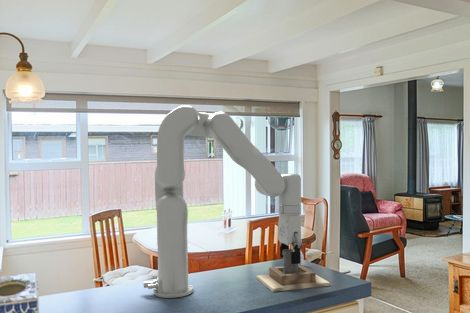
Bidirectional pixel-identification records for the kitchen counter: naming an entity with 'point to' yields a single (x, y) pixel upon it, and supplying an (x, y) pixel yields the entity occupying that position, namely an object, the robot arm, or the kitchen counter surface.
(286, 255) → the stone
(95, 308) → the kitchen counter surface
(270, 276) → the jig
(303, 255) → the ornament
